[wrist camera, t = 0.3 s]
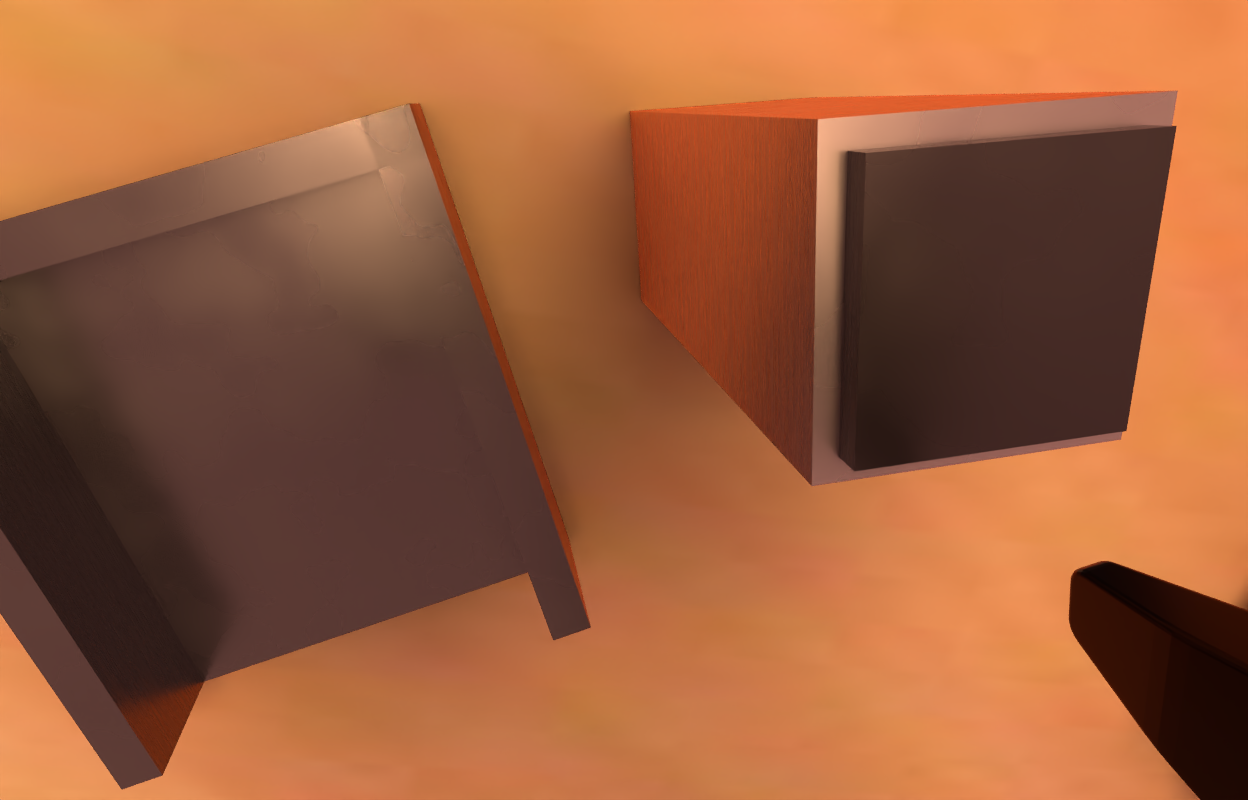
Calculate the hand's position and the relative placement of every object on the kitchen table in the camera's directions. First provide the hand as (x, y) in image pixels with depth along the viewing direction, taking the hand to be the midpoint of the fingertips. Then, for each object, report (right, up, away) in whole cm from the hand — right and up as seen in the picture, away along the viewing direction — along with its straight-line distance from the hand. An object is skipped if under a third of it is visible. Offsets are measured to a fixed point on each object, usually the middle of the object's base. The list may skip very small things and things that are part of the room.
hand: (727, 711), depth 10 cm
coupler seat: (-10, +3, +12) cm, 16 cm away
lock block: (+2, +9, +13) cm, 16 cm away
